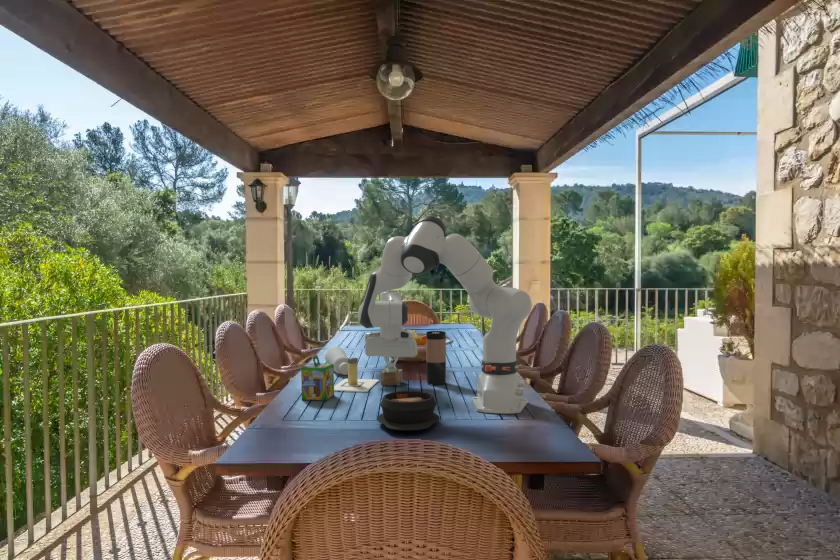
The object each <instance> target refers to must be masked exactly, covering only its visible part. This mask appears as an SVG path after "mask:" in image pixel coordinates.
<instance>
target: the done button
mask: <svg viewBox="0 0 840 560" xmlns="http://www.w3.org/2000/svg"><path fill="white" fill-rule="evenodd" d="M386 369H387V372H397V369H398V368H397V367H396V366H395V368H387V367H386Z"/></svg>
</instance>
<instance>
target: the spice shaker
mask: <svg viewBox="0 0 840 560" xmlns="http://www.w3.org/2000/svg"><path fill="white" fill-rule="evenodd" d="M358 363H359V362H358V357H348V374H347V379H348V385H357V384H358V379H359V378H358V376H359V375H358Z"/></svg>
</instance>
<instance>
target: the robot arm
mask: <svg viewBox="0 0 840 560" xmlns="http://www.w3.org/2000/svg"><path fill="white" fill-rule="evenodd" d="M446 233H447V228H446V225H445V223H444V222H443V221H442V220H441V219H440V218H438V217H436V216H433V215H431V216H430V215H428V216H424V217H422V218H420V219H419V220H418V221H417V222H416V223H415V224H414V225H413V226H412V227H411V228H410V229H409V234H408V235H407V236H401V235H396V236H392V237H391V238H389V239H388V240H387V241H386V243H385V246H384V248H383V251H382V256H381V264H380V266H379V268H378V269H377V270H376V271H374V272H372V273H371V275H370V277H369V279H368V282H367V284H366V287H365V291H364V293H363V298H362V301H361V303H360V305H359V307H358V311H357V319H358V323H359V324H360V325H361V326H362V327H363V328H365V329H374V328H379V331H378V332H373V331H371V332H368V333H366V334H365V336H364V342H365V348H364V349H365V351H364V354H365V356H367V357H383V358H384V361H385V363H386V366H387V367H386V369H387V368H395V367H396V363H397V362H398V360H399V358H415V357H416V356H417V355H418V346H417V345H418V344H417V340H416V338H415V337H414V336H415V331H414V330H411V329H407V328H404V327H403V326H404V325H405V324H406V323H407V322H408V321H409V319H408V308H409V306H408V305H407V304H406V303H405V302H404V301H402V294H401V292H400V291H398V290H397V289H401V288H404V287H405V286H406V285H408V283H410V282H411V279H412V276H413V274H415V275H423V274H426V273H428V272H429V271H434V270H437V269H438V268H439V266H440V264H442V265H443V266H445V267H446V268H447V270H449V272H450V273H451V274H452V275H453V276H454V278H455V279H456V280H457V281H458V282H459V283H460V285H461V286H462V287H463V288H464V290H465V291H466V292H467V294H468V297H469V298H468V299H469V301H468V303H469V308H470V310H471V311H472V312H473V314H476V315H477V316H479V317H482V318H485V319H491V325H490V328H489V331H487V333H485V334H484V336H483V338H482V359H481V373H480V374H479V375H477V389H476V391H475V393H476V394H477V396H472V397H471V399H470V401H471V403H472V404H473V406H474V408H475V409H474V410H476V412H480V413H487V414H503V415H504V414H520V413H522V411H523V410H524V409H525V407H526V406H527V405H528V403H529V401H528V398H525V397H524V398H523V394H524V389H523V385H524V384H523V383H522V382H523V381H522V377H521V375H519V374H518V367H519V365H518V360H517V339H518V333H519V329H520V327H521V325H522V323H523V321H524V320H525V319H526V318H527V317H528V316H529V315H530V313H531V311H532V306H533V305H532V299H531V296H530V295H529V293H527V292H526V291H523V290H522V289H518V288H516V287H510V286H509V287H507V286H501V285H500V286H499V285H498V284H497V283H495V280H494V278H493V275H494V270H493V268H492V266H491V265H490V264H489V263H488V261H487V260H486V259H485V258H484V256H483V255H482V254H481V253H480V252H479V250H477V249H476V247H475V246H474V245H473V244H472V243H471V242H470V241H469V240H467V239H466V238H465V237H464V236H462V235H461V234H459V233H450V234H448V235H446ZM379 295H380V300H379V301H378V300H377V301H376V299H377V297H378V296H379ZM391 357H392V358H393V360H394V361H393V362H390V361H389V358H391Z"/></svg>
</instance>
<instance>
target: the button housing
mask: <svg viewBox="0 0 840 560" xmlns="http://www.w3.org/2000/svg"><path fill="white" fill-rule="evenodd" d="M401 382H402V383H403V369H402V368H401V369H399V368H397V372H387V368H384V369H382V371H380V386H388V385H399V386H400V385H401V384H402V383H401ZM400 383H401V384H400Z"/></svg>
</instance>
